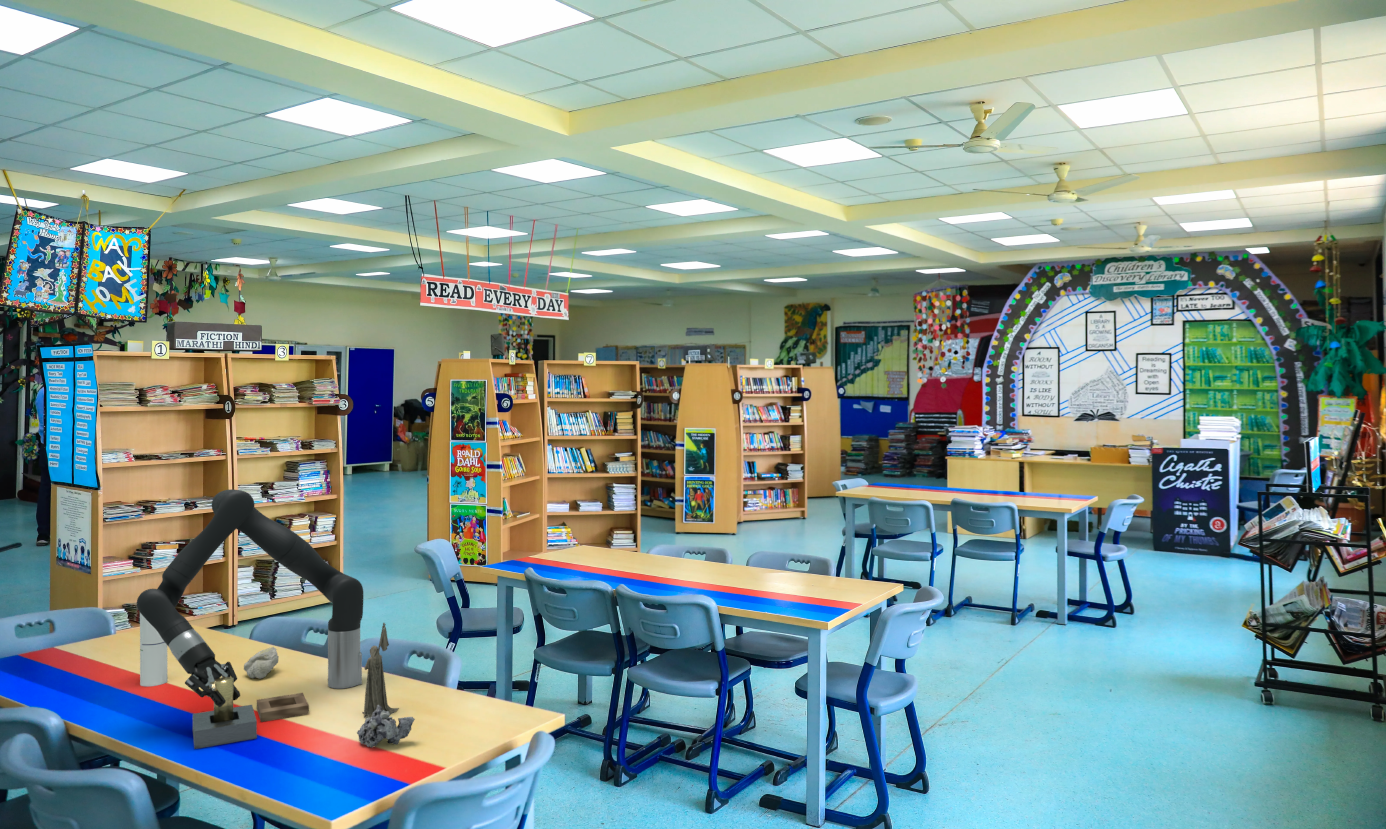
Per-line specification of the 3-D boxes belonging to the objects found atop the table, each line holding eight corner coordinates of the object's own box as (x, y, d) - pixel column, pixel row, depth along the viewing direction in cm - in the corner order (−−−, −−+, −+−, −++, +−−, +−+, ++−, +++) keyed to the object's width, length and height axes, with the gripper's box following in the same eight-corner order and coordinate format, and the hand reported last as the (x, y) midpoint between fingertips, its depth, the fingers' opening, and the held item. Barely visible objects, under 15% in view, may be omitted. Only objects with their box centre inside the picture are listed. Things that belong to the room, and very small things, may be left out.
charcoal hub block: (251, 721, 239) (251, 704, 239) (256, 738, 227) (256, 721, 227) (192, 730, 232) (192, 713, 232) (194, 749, 220) (194, 731, 220)
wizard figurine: (383, 704, 253) (384, 617, 253) (403, 709, 249) (403, 621, 248) (352, 714, 245) (353, 625, 244) (372, 721, 240) (373, 629, 240)
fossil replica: (245, 683, 271) (280, 680, 276) (248, 657, 270) (283, 654, 276) (240, 670, 281) (274, 667, 286) (242, 644, 280) (276, 642, 286)
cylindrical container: (154, 687, 266) (154, 604, 266) (134, 685, 268) (134, 603, 267) (173, 679, 273) (172, 599, 273) (153, 678, 275) (153, 598, 274)
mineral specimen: (421, 726, 226) (396, 692, 225) (393, 752, 218) (367, 717, 217) (395, 739, 233) (371, 706, 233) (367, 764, 225) (342, 731, 224)
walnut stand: (302, 701, 255) (302, 692, 255) (308, 714, 245) (308, 705, 245) (256, 708, 249) (256, 699, 249) (260, 722, 239) (260, 712, 239)
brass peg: (232, 715, 233) (232, 676, 233) (233, 721, 229) (234, 680, 229) (213, 718, 230) (213, 678, 230) (214, 724, 227) (214, 683, 226)
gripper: (178, 649, 224) (217, 701, 221) (220, 634, 238) (258, 683, 235) (160, 668, 226) (200, 720, 223) (204, 652, 239) (241, 701, 237)
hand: (230, 701), depth 229 cm, fingers closed on brass peg, 4 cm apart
